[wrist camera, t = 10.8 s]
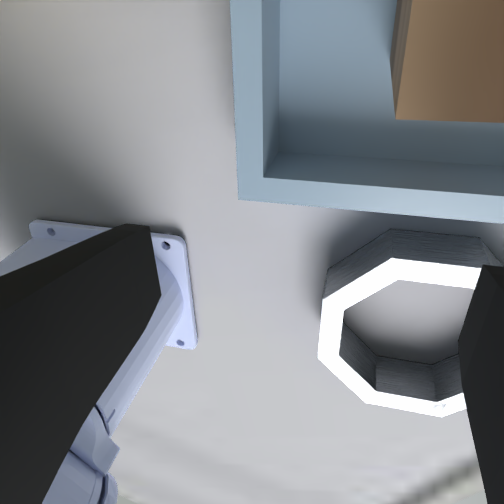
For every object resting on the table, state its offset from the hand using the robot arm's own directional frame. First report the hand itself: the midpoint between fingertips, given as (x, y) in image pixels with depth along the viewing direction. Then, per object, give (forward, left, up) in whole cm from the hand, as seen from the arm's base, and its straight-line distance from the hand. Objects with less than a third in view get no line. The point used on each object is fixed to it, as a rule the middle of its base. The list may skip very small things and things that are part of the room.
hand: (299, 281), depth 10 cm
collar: (+5, -9, -10) cm, 14 cm away
